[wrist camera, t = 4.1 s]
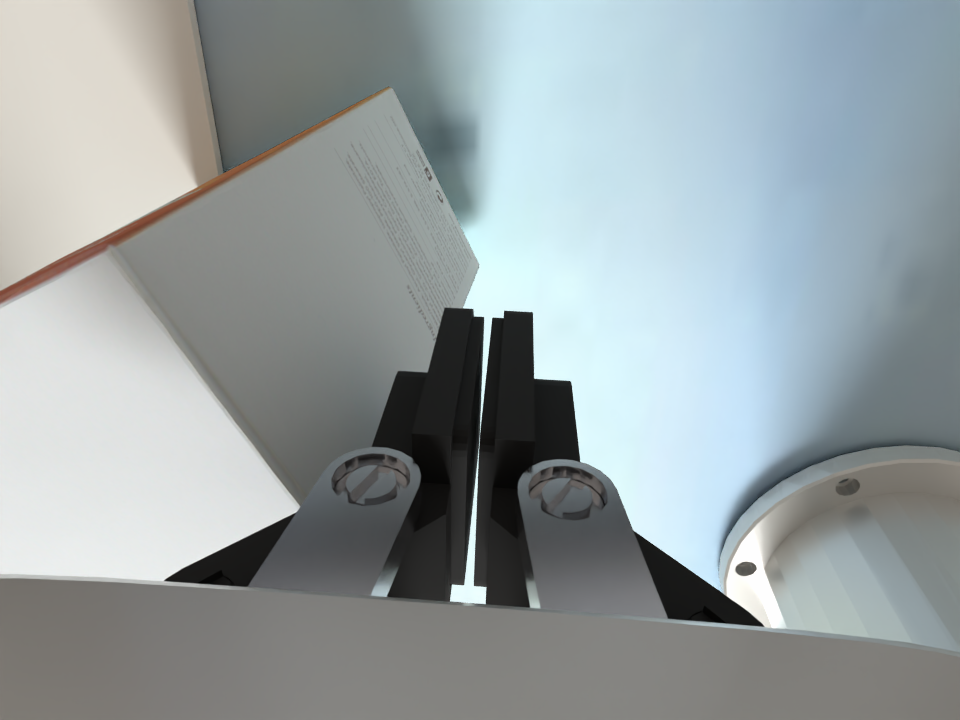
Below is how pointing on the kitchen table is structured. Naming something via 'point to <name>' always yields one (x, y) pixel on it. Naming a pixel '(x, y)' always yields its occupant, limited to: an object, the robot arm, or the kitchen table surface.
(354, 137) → the small box
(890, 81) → the kitchen table surface
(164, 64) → the mat
